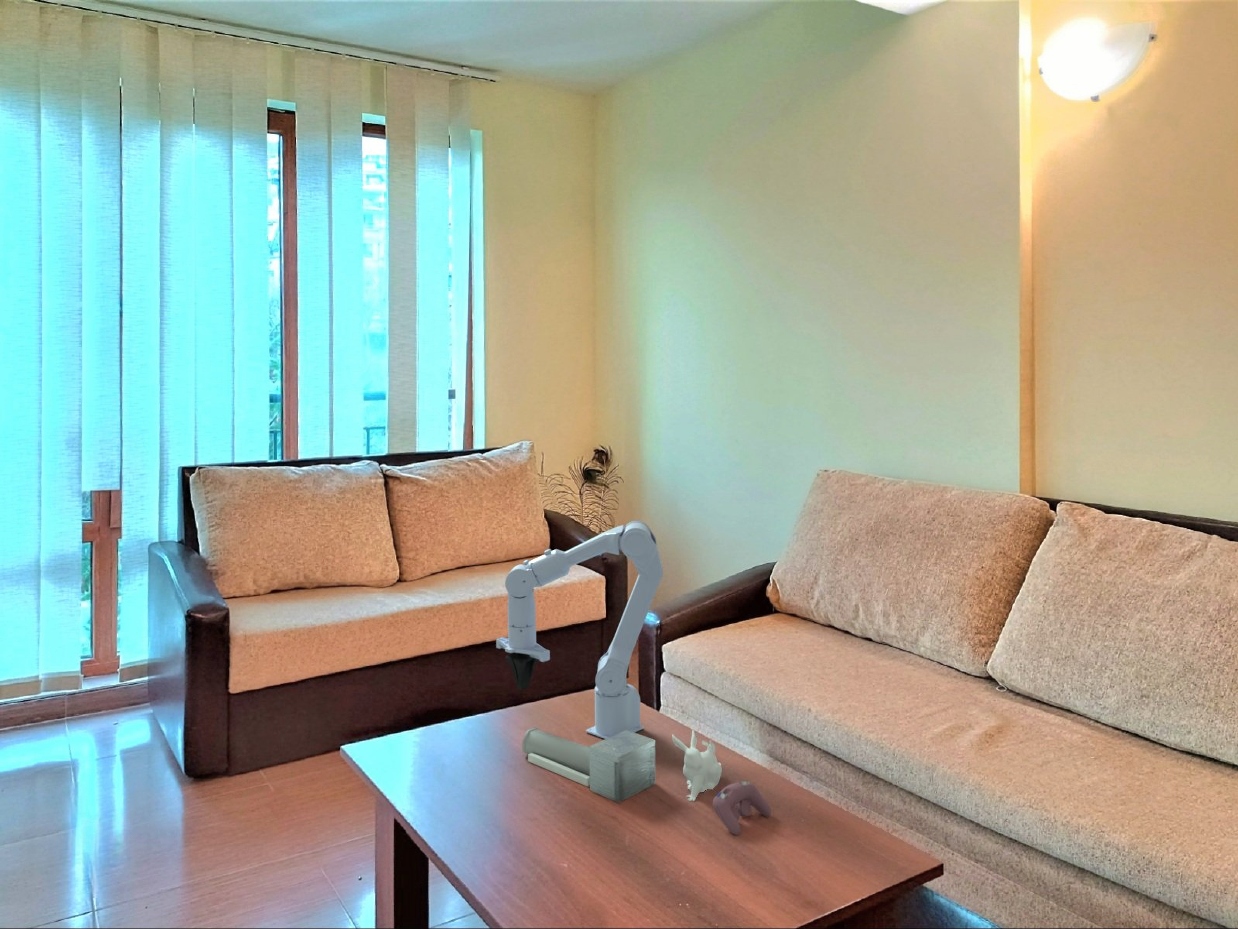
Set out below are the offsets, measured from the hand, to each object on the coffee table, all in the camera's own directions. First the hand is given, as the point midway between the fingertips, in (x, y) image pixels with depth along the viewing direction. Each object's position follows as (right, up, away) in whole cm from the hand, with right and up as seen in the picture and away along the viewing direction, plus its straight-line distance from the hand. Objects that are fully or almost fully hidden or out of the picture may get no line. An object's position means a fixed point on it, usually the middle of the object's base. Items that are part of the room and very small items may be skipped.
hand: (523, 688), depth 186 cm
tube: (+12, -12, -17) cm, 24 cm away
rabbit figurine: (+34, -12, -24) cm, 43 cm away
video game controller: (+40, -13, -37) cm, 56 cm away
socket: (+21, -12, -25) cm, 34 cm away
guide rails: (+11, -11, -16) cm, 22 cm away
